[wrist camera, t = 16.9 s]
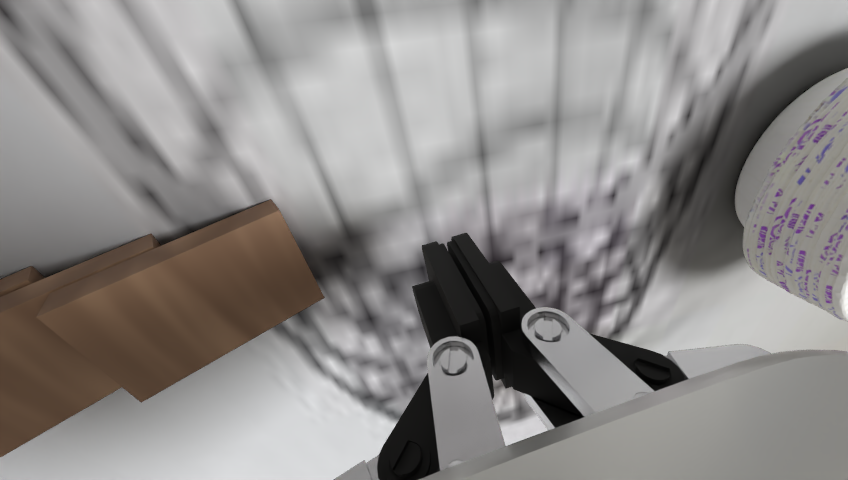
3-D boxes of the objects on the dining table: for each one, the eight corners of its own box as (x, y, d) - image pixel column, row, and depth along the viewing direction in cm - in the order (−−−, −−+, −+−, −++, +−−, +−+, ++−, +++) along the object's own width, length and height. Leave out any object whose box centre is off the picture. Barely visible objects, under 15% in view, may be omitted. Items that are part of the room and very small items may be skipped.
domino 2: (279, 210, 14) (35, 317, 11) (324, 297, 16) (141, 402, 13) (271, 199, 15) (50, 292, 12) (314, 282, 18) (143, 375, 15)
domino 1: (152, 246, 13) (-154, 379, 10) (220, 330, 16) (-1, 458, 12) (151, 233, 14) (-123, 348, 11) (214, 314, 17) (10, 426, 14)
